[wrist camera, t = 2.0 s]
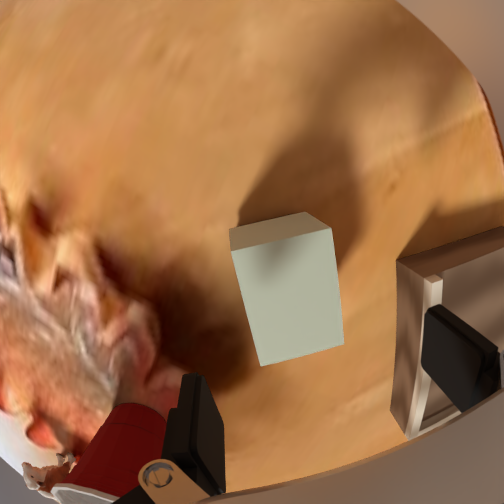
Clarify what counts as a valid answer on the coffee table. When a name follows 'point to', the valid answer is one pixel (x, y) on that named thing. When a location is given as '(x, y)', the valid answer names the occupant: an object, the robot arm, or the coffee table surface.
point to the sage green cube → (288, 285)
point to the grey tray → (455, 300)
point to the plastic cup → (114, 457)
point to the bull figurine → (47, 475)
